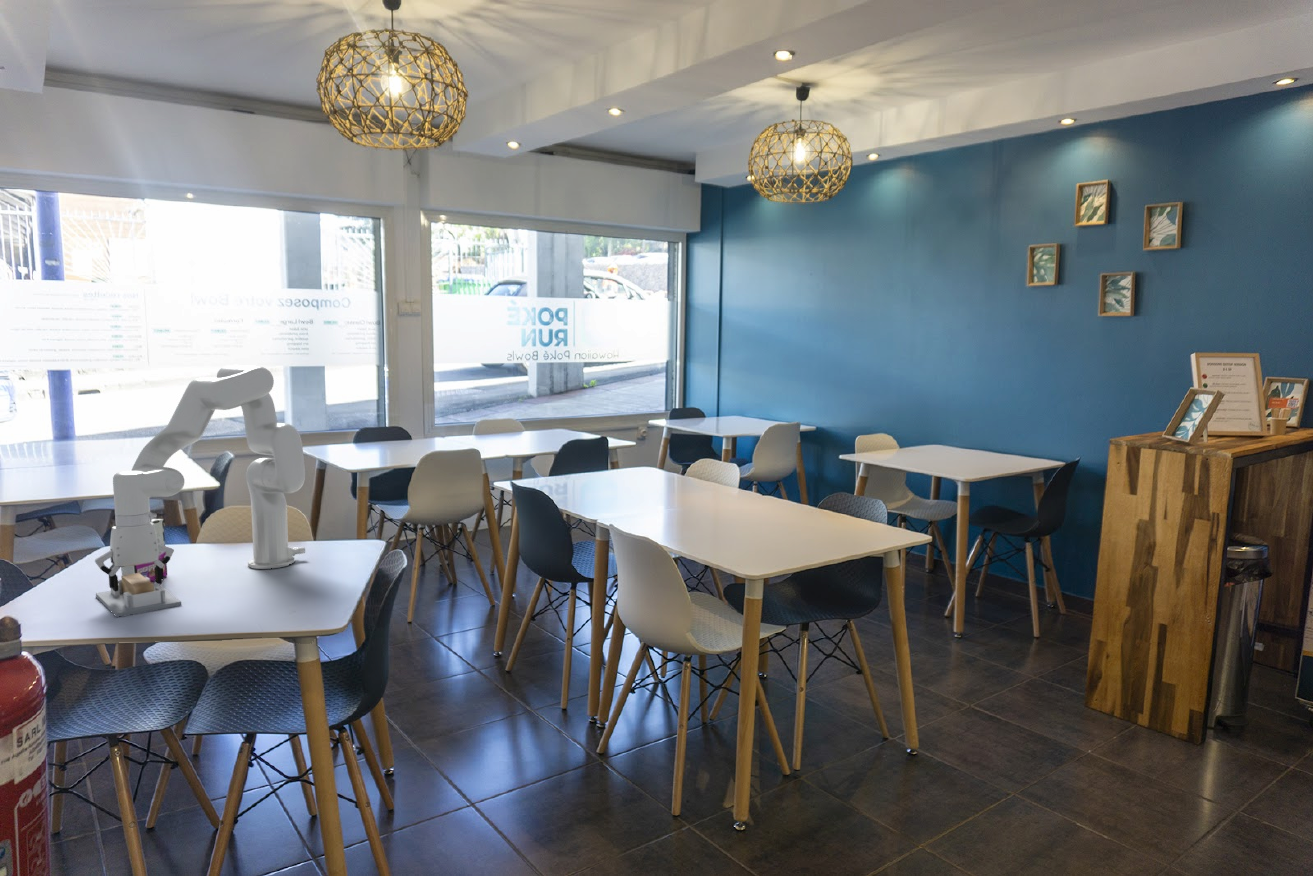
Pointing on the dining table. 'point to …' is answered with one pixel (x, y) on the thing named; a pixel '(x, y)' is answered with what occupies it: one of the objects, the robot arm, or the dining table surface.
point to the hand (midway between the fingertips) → (137, 586)
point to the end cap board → (137, 600)
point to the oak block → (136, 584)
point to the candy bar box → (150, 567)
